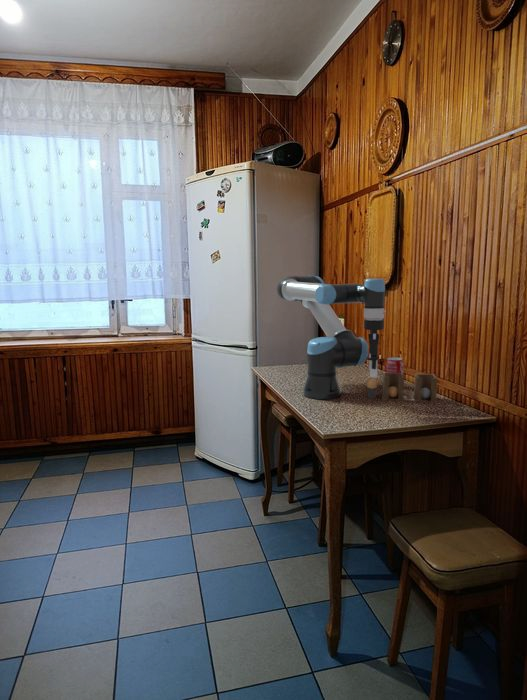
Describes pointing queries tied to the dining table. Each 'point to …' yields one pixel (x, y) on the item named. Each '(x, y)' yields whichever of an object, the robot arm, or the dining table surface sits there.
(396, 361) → the soda can
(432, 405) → the dining table surface
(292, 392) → the dining table surface
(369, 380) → the brown ball
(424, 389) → the grey ball
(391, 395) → the brown ball in tube
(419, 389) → the rack
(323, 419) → the dining table surface
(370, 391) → the rubber stand
